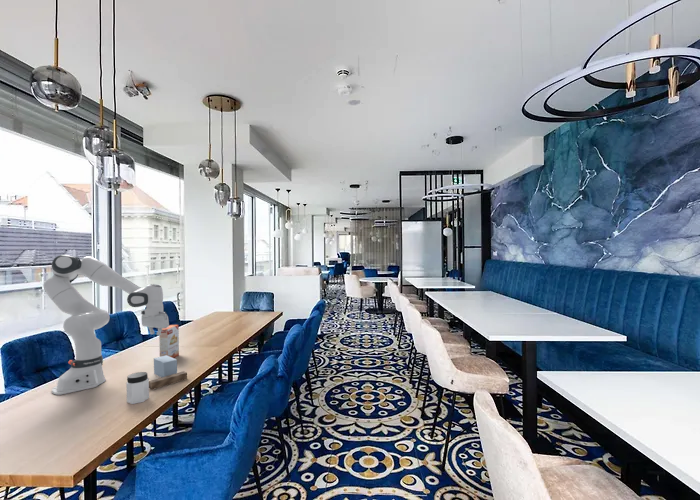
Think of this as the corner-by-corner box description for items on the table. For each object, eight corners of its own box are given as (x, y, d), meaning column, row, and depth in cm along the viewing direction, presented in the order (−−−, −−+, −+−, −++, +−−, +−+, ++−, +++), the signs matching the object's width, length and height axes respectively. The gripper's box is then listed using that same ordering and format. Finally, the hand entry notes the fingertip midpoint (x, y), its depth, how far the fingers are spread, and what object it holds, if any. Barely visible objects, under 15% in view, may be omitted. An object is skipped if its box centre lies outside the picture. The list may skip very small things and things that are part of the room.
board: (151, 389, 175) (151, 382, 175) (148, 388, 177) (148, 381, 177) (187, 379, 189) (187, 372, 189) (183, 377, 191) (183, 371, 191)
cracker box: (168, 361, 221) (167, 329, 221) (159, 361, 221) (158, 329, 221) (179, 355, 235) (179, 324, 235) (171, 355, 235) (170, 324, 235)
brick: (164, 379, 190) (163, 362, 190) (154, 373, 199) (153, 358, 199) (177, 375, 195) (176, 359, 195) (166, 370, 204) (166, 355, 204)
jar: (123, 401, 161) (123, 376, 161) (141, 395, 168) (140, 370, 168) (134, 405, 157) (133, 379, 157) (152, 398, 164) (151, 373, 164)
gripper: (171, 311, 203) (172, 334, 203) (149, 309, 212) (149, 332, 212) (161, 313, 198) (162, 337, 198) (139, 311, 207) (139, 334, 206)
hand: (155, 334), depth 205 cm, fingers open, 5 cm apart
